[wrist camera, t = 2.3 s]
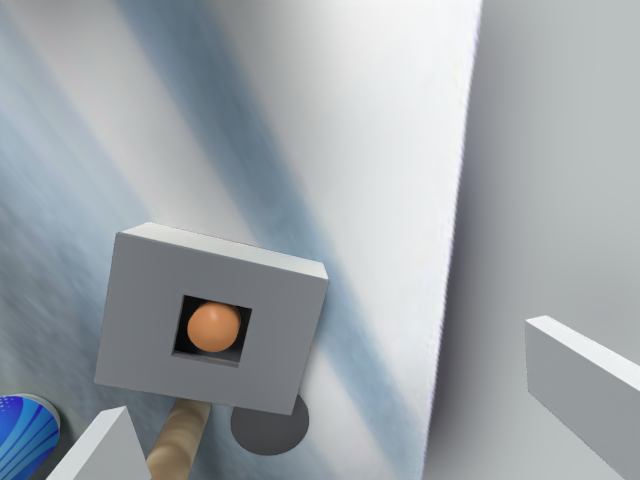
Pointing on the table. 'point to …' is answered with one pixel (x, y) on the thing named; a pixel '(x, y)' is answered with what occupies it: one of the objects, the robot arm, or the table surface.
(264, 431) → the pad
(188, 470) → the stylus
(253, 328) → the box
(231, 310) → the breaker button
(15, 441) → the beer can
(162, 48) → the table surface
